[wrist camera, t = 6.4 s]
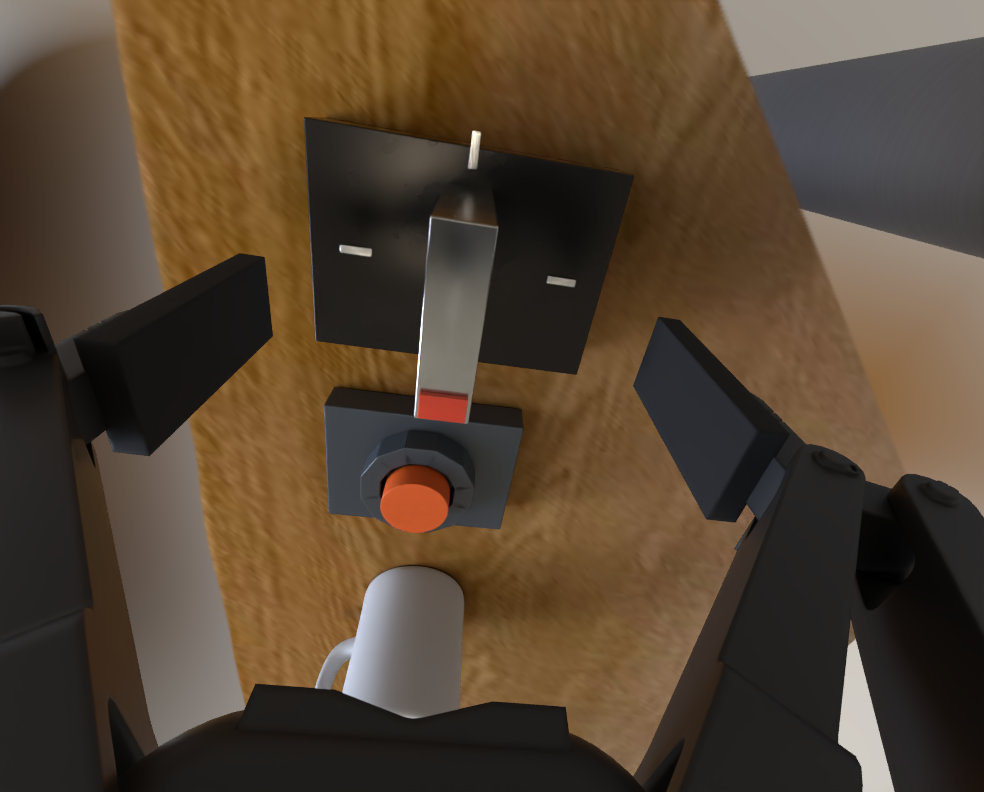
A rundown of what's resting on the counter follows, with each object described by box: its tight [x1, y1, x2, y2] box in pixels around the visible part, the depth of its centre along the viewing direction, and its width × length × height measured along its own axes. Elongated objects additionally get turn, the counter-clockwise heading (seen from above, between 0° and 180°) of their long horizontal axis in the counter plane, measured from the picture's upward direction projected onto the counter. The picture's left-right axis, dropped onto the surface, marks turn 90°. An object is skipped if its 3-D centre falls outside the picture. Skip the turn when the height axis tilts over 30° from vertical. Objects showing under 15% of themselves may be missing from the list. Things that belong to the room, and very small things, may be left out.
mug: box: [315, 566, 464, 718], centre depth 35 cm, size 12×8×11 cm
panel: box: [304, 117, 634, 375], centre depth 23 cm, size 14×11×3 cm
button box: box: [324, 387, 524, 533], centre depth 29 cm, size 12×9×4 cm
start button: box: [380, 465, 450, 533], centre depth 27 cm, size 4×4×2 cm
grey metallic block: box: [414, 183, 499, 424], centre depth 18 cm, size 7×2×8 cm, turn 171°
